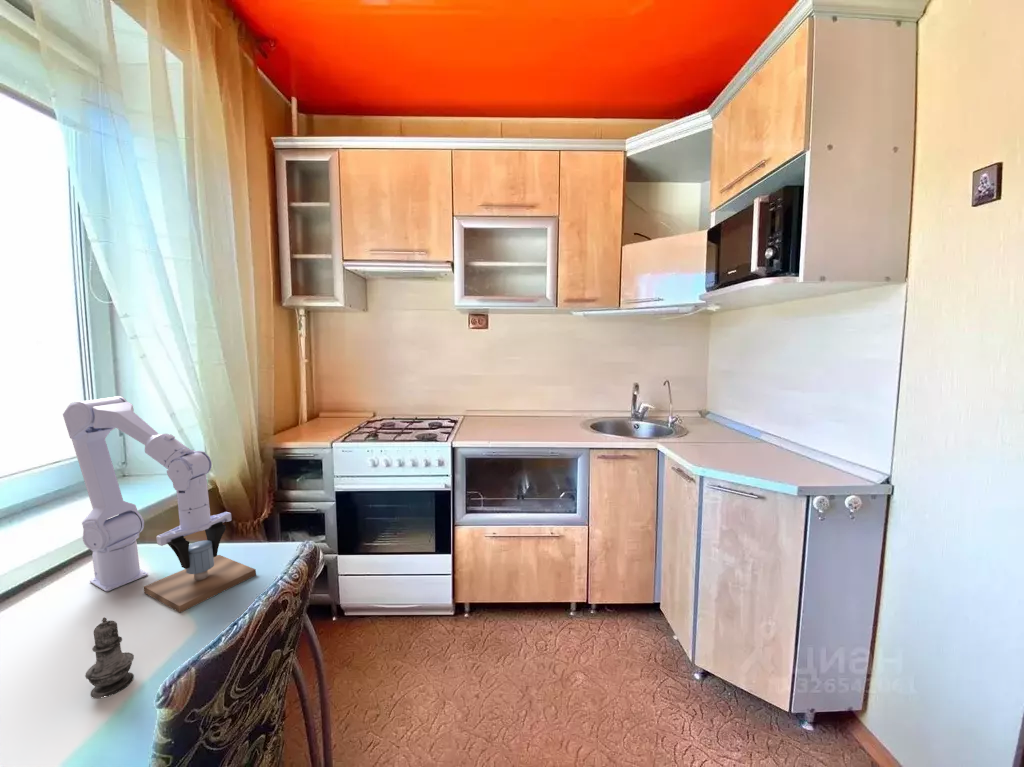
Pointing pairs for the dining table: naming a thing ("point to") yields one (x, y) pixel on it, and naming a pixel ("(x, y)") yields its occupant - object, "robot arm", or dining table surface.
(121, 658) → the dark grey tiered piece
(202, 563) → the cap
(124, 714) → the dining table surface
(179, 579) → the walnut board
